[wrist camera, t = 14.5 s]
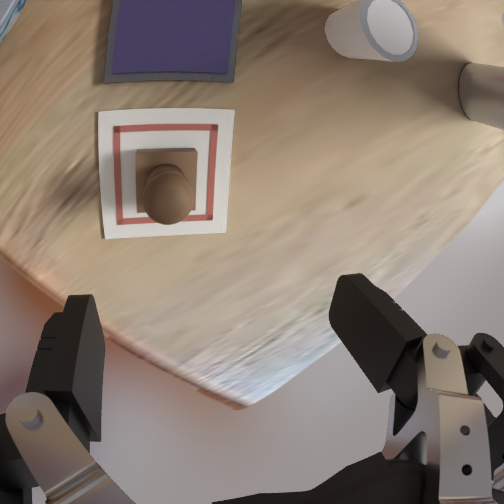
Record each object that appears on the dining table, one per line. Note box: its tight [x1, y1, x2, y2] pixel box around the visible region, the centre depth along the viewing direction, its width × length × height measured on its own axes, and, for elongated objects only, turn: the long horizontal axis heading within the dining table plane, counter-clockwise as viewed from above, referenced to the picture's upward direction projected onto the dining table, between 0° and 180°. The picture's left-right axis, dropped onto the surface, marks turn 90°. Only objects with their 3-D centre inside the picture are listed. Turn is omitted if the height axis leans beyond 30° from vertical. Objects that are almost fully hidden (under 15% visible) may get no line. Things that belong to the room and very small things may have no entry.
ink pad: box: [104, 0, 242, 83], centre depth 20 cm, size 11×9×2 cm
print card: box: [98, 108, 235, 239], centre depth 26 cm, size 12×12×1 cm
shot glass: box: [325, 0, 418, 62], centre depth 21 cm, size 7×7×7 cm
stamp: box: [135, 148, 198, 225], centre depth 23 cm, size 5×5×9 cm
